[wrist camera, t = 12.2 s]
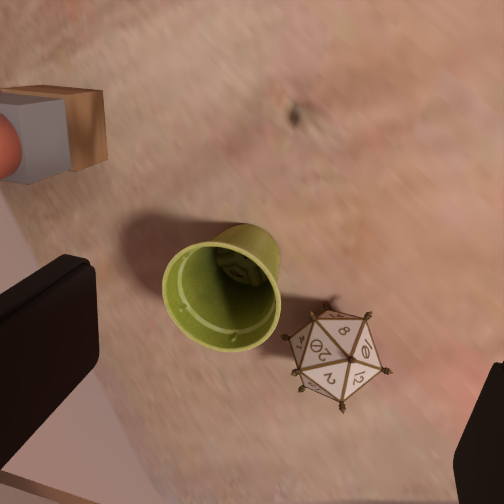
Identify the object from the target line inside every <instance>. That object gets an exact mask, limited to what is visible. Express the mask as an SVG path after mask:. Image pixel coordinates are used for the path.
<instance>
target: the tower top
mask: <svg viewBox="0 0 504 504" xmlns="http://www.w3.org/2000/svg"><path fill="white" fill-rule="evenodd" d="M0 113H2V114H3V115H4V116H5V117H6V118H7V119H8V120H9V121H10V122H11V123H12V125H13V126H14V128H15V130H16V132H17V134H18V136H19V139H20V142H21V146H22V159H21V163H20V166H19V168H18V169H17V171H16V172H15V173H14V174H12V175H10V176H8V177H5V178H2V179H0V180H2V181H8V182H15V183H21V184H27V185H30V184H33V183H35V182H38V181H41V180H43V179H46V178H49V177H52V176H54V175H57V174H60V173H62V172H65V171H68V170H70V169H71V161H70V151H69V141H68V131H67V122H66V112H65V102H64V99H60V98H51V97H42V96H32V95H23V94H14V93H5V92H2V93H0Z"/></svg>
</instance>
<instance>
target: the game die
mask: <svg viewBox="0 0 504 504" xmlns="http://www.w3.org/2000/svg"><path fill="white" fill-rule="evenodd" d="M323 305H324V309H325V311H323V312H322V313H321V314H319V315H318V316H316V315H315V313H314V312H311V311H310V314H309V317H310V319H312V320H311V321H310V322H309V323H307V324H306V325H305V326H303V327H302V328H301V329H300V330H298V331H297V332H296V333H294V334H293V335H292V336H291V337H289V336H288V335H285V334H284V335H280V336H281V338H282V339H283V340H285V341H286V340H288V341H289V343H290V346H291V349H292V353H293V356H294V359H295V363H296V366H297V369H295V370H292V373H291V375H293V376H297V375H298V374H299V375H300V378H301V381H302V383H303V385H301V386H300V387H299V388H298V389H299V391H298V393H299V392H304V390H305V388H309V389H311V390H313V391H315V392H318V393H320V394H322V395H324V396H326V397H329V398H331V399H333V400H335V401H338V402H339V403H340V404H339V410H341V412H342V413H343V414H344V411H345V409H346V408H345V405H344V401H346V400H347V399H348V398H349V397H351V396H352V395H353V394H354V393H355V392H357V391H358V390H359V389H360V388H362V387H363V386H364V385H365V384H366V383H368V382H369V381H370V380H371V379H373V378H374V377H375V376H376V375H377V374H379V373H380V372H383V373H384V374H387V375H388V374H392V373H393V372H392V371H391V370H390V369H388V368H387V367H386V368H383V367H382V365H381V362H380V359H379V356H378V353H377V350H376V347H375V344H374V341H373V338H372V335H371V332H370V329H369V326H368V323H367V320H368V319H370V317H372V311H371V312H366V314H365V316H364V318H361V317H357V316H353V315H349V314H345V313H340V312H336V311H332V310H329V308H330V307H329V304H328V303H327V302H326V301H325V303H324V304H323Z"/></svg>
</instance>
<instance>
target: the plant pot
mask: <svg viewBox="0 0 504 504" xmlns="http://www.w3.org/2000/svg"><path fill="white" fill-rule="evenodd" d="M223 248H224V249H223ZM244 255H245V256H247V257H248V259H246V258H244ZM279 266H280V253H279V250H278V247H277V244H276V242H275V240H274V239H273V237H272V236H271V235H270V234H269V233H267V232H266V231H265V230H263V229H261V228H259V227H257V226H254V225H250V224H242V225H236V226H233V227H230V228H228V229H227V230H225V231H224V232H222V233H221V234H219V235H218V236H216V237H215V238H213V239H212V240H210V241H204V242H198V243H195V244H192V245H190V246H187V247H186V248H184V249H182V250H181V251H180V252H178V253H177V254H176V255H175V256H174V257H173V258H172V259H171V261H170V262H169V264H168V265H167V267H166V269H165V272H164V275H163V279H162V296H163V301H164V305H165V307H166V310H167V312H168V314H169V316H170V317H171V319H172V320H173V322H174V323H175V324H176V325H177V327H178V328H179V329H180V330H181V331H182V332H183V333H184V334H185V335H186V336H187V337H189V338H190V339H192V340H193V341H195V342H197V343H198V344H200V345H202V346H204V347H207V348H210V349H213V350H216V351H221V352H241V351H246V350H249V349H252V348H255V347H257V346H258V345H260V344H262V343H263V342H264V341H265V340H267V339H268V338H269V337H270V335H271V334H272V333H273V331H274V330H275V328H276V326H277V323H278V320H279V317H280V312H281V296H280V291H279V287H278V285H277V279H278V272H279ZM231 270H234V271H235V272H237V273H238V274H240V275H242V276H244V278H240V277H238V276H235V275H234V274H233V273H231Z"/></svg>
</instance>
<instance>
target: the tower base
mask: <svg viewBox="0 0 504 504" xmlns="http://www.w3.org/2000/svg"><path fill="white" fill-rule="evenodd" d="M1 92H5V93H14V94H23V95H32V96H42V97H51V98H60V99H64V102H65V112H66V122H67V131H68V141H69V151H70V161H71V169H70V170H68V171H73V172H77V171H79V170H82V169H84V168H87V167H90V166H92V165H95V164H97V163H100V162H103V161H105V160H108V153H107V140H106V127H105V113H104V100H103V90H93V89H82V88H71V87H60V86H49V85H36V86H25V87H13V88H2V89H1Z"/></svg>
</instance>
